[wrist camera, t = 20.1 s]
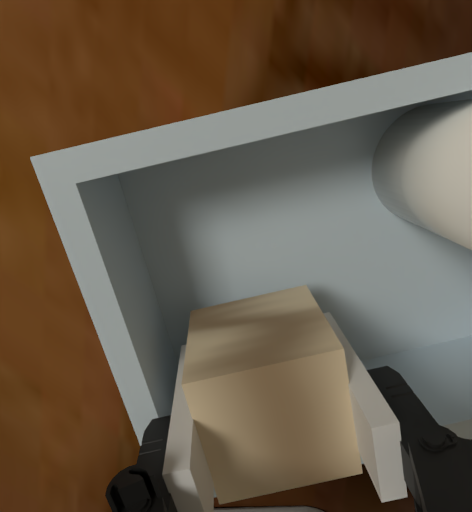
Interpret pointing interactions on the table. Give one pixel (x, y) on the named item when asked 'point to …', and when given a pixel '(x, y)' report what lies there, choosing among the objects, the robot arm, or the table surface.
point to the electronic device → (270, 509)
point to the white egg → (429, 169)
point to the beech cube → (269, 395)
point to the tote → (267, 236)
